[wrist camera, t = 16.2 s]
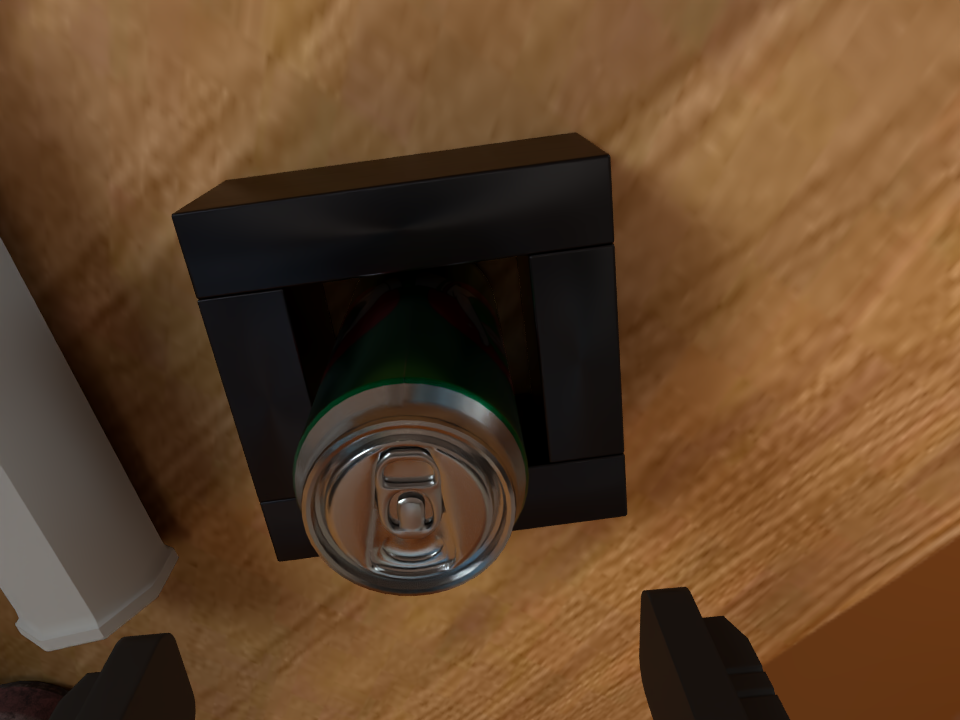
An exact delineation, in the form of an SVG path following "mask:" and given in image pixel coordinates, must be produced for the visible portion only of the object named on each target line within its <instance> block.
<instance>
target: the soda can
mask: <svg viewBox="0 0 960 720" xmlns="http://www.w3.org/2000/svg"><path fill="white" fill-rule="evenodd" d="M292 477H293V490H294V493H295V497H296V501H297V505H298V507H299V509H300V511H301V513H302V519H303V523H304V527H305V531H306V534H307V536H308V538H309V540H310V542H311V545H312V546H313V547H314V549H315V550H316V552H317V553H318V555H319V556H320V557H321V558H322V559H323V561H324V562H325V563H326V564H327V565H328V566H329V567H330V568H332V569H333V570H334V571H335V572H337V573H338V574H339V575H341V576H342V577H344V578H346V579H347V580H349V581H351V582H353V583H354V584H357V585H359V586H362V587H364V588H367V589H369V590H373V591H377V592H380V593H384V594H392V595H399V596H419V595H428V594H434V593H438V592H442V591H446V590H449V589H452V588H454V587H457V586H460V585H462V584H464V583H466V582H467V581H469V580H471V579H473V578H475V577H476V576H477V575H479V574H480V573H482V572H483V571H484V570H486V569H487V568H488V567H489V566H490V565H491V564H492V563H493V562H494V561H495V560H496V559H497V557H498V556H499V555H500V553H501V552H502V550H503V549H504V548H505V546H506V544H507V542H508V539H509V537H510V535H511V532H512V529H513V526H514V525H515V523H516V522H517V520H518V517H519V515H520V513H521V511H522V509H523V507H524V503H525V500H526V497H527V493H528V483H529V472H528V461H527V456H526V451H525V446H524V441H523V436H522V431H521V426H520V421H519V416H518V411H517V406H516V401H515V396H514V391H513V386H512V381H511V375H510V370H509V365H508V360H507V355H506V350H505V345H504V340H503V335H502V330H501V325H500V320H499V315H498V310H497V305H496V300H495V297H494V293H493V290H492V288H491V286H490V283H489V281H488V280H487V278H486V277H485V275H484V274H483V272H482V271H481V270H480V269H479V268H478V267H477V266H476V265H475V264H474V263H473V262H470V263H463V264H456V265H448V266H441V267H433V268H426V269H419V270H411V271H404V272H397V273H389V274H382V275H374V276H367V277H360V279H359V281H358V283H357V285H356V287H355V290H354V293H353V295H352V298H351V301H350V304H349V306H348V309H347V312H346V315H345V317H344V320H343V323H342V326H341V328H340V331H339V334H338V337H337V339H336V342H335V345H334V348H333V350H332V353H331V356H330V358H329V361H328V364H327V367H326V369H325V372H324V375H323V378H322V380H321V383H320V386H319V389H318V391H317V394H316V397H315V400H314V402H313V405H312V408H311V411H310V413H309V416H308V419H307V422H306V424H305V427H304V430H303V433H302V435H301V438H300V441H299V444H298V447H297V450H296V453H295V456H294V463H293V471H292Z"/></svg>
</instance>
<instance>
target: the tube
mask: <svg viewBox="0 0 960 720" xmlns="http://www.w3.org/2000/svg"><path fill="white" fill-rule="evenodd" d="M178 558H179V557H178V555H177V553H176V551H175V550H174V548H172V547H170V546H167V545H164V543H163V542H162V540H161V538H160V537H159V535H158V533H157V531H156V529H155V527H154V525H153V523H152V521H151V520H150V518H149V516H148V514H147V512H146V510H145V508H144V506H143V505H142V503H141V501H140V499H139V497H138V495H137V493H136V491H135V489H134V488H133V486H132V484H131V482H130V480H129V478H128V476H127V474H126V473H125V471H124V469H123V467H122V465H121V463H120V461H119V459H118V458H117V456H116V454H115V452H114V450H113V448H112V446H111V444H110V442H109V441H108V439H107V437H106V435H105V433H104V431H103V429H102V427H101V426H100V424H99V422H98V420H97V418H96V416H95V414H94V412H93V410H92V409H91V407H90V405H89V403H88V401H87V399H86V397H85V395H84V394H83V392H82V390H81V388H80V386H79V384H78V382H77V380H76V378H75V377H74V375H73V373H72V371H71V369H70V367H69V365H68V363H67V362H66V360H65V358H64V356H63V354H62V352H61V350H60V348H59V346H58V345H57V343H56V341H55V339H54V337H53V335H52V333H51V331H50V330H49V328H48V326H47V324H46V322H45V320H44V318H43V316H42V314H41V313H40V311H39V309H38V307H37V305H36V303H35V301H34V299H33V298H32V296H31V294H30V292H29V290H28V288H27V286H26V284H25V282H24V281H23V279H22V277H21V275H20V273H19V271H18V269H17V267H16V266H15V264H14V262H13V260H12V258H11V256H10V254H9V252H8V250H7V249H6V247H5V245H4V243H3V241H2V239H1V237H0V588H1V589H2V591H3V592H4V594H5V595H6V597H7V598H8V600H9V601H10V603H11V604H12V606H13V607H14V609H15V610H16V612H17V614H18V617H19V619H18V621H17V622H16V624H15V625H16V627H17V628H18V630H19V631H20V633H21V634H22V635H23V636H25V637H26V638H28V639H29V640H31V641H32V642H34V643H35V644H37V645H38V646H39V647H41V648H42V649H44V650H45V651H54V650H58V649H63V648H67V647H71V646H76V645H80V644H85V643H89V642H94V641H98V640H103V639H106V638H107V637H109V636H110V635H111V634H112V633H114V632H115V631H116V630H117V629H119V628H120V627H121V626H122V625H124V624H125V623H126V622H127V621H129V620H130V619H131V618H132V617H133V616H135V615H136V614H137V613H138V612H140V611H141V610H142V609H143V608H145V607H146V606H147V605H148V604H150V603H151V602H152V601H153V600H155V599H156V598H157V597H158V596H159V594H160V592H161V590H162V588H163V586H164V585H165V583H166V581H167V579H168V577H169V575H170V573H171V571H172V569H173V568H174V566H175V564H176V562H177V560H178Z"/></svg>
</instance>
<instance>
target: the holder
mask: <svg viewBox="0 0 960 720" xmlns="http://www.w3.org/2000/svg"><path fill="white" fill-rule="evenodd" d="M172 220H173V223H174V226H175V230H176V233H177V236H178V239H179V243H180V246H181V249H182V252H183V256H184V259H185V262H186V265H187V268H188V272H189V275H190V278H191V281H192V285H193V288H194V291H195V294H196V297H197V299H198V305H199V308H200V312H201V315H202V318H203V321H204V325H205V328H206V331H207V334H208V338H209V341H210V344H211V347H212V350H213V354H214V357H215V360H216V363H217V367H218V370H219V373H220V376H221V380H222V383H223V386H224V389H225V392H226V396H227V399H228V402H229V405H230V409H231V412H232V415H233V418H234V421H235V425H236V428H237V431H238V434H239V438H240V441H241V444H242V447H243V451H244V454H245V457H246V460H247V463H248V467H249V470H250V473H251V476H252V480H253V483H254V486H255V489H256V493H257V496H258V499H259V502H261V503H260V505H261V508H262V511H263V514H264V517H265V521H266V524H267V527H268V530H269V534H270V537H271V540H272V543H273V547H274V550H275V553H276V556H277V559H278V561H280V562H281V561H288V560H296V559H303V558H311V557H319V555H318V553H317V552H316V550H315V549H314V547H313V546H312V545H311V542H310V540H309V538H308V536H307V534H306V531H305V527H304V523H303V519H302V513H301V511H300V509H299V507H298V505H297V501H296V497H295V493H294V490H293V477H292V471H293V463H294V456H295V453H296V450H297V447H298V444H299V441H300V438H301V435H302V433H303V430H304V427H305V424H306V422H307V419H308V416H309V413H310V411H311V408H312V405H313V402H314V400H315V397H316V394H317V391H318V389H319V386H320V383H321V380H322V378H323V375H324V372H325V369H326V367H327V364H328V361H329V358H330V356H331V353H332V350H333V348H334V345H335V342H336V341H335V337H334V333H333V328H332V324H331V319H330V315H329V311H328V306H327V302H326V298H325V293H324V289H323V285H322V283H323V282H330V281H337V280H345V279H352V278H360V277H367V276H374V275H382V274H389V273H397V272H404V271H411V270H419V269H426V268H433V267H441V266H448V265H456V264H463V263H470V262H478V261H485V260H492V259H500V258H507V257H515V256H517V265H518V274H519V283H520V293H521V302H522V311H523V321H524V330H525V339H526V349H527V358H528V367H529V377H530V386H531V394H523V395H516V396H515V401H516V406H517V411H518V416H519V421H520V426H521V431H522V436H523V441H524V446H525V451H526V456H527V461H528V472H529V483H528V493H527V497H526V500H525V503H524V507H523V509H522V511H521V513H520V515H519V517H518V520H517V522H516V523H515V525H514V526H513V529H512V531H515V530H523V529H531V528H538V527H546V526H553V525H561V524H568V523H576V522H583V521H591V520H599V519H606V518H614V517H621V516H626V515H627V495H626V474H625V455H624V434H623V413H622V392H621V371H620V350H619V329H618V308H617V287H616V266H615V246H614V244H613V242H614V222H613V201H612V180H611V159H610V155H609V154H608V153H606V152H605V151H603V150H602V149H600V148H599V147H597V146H596V145H594V144H593V143H591V142H590V141H588V140H587V139H585V138H584V137H582V136H581V135H579V134H578V133H568V134H561V135H554V136H547V137H539V138H532V139H525V140H517V141H510V142H503V143H495V144H488V145H481V146H474V147H466V148H459V149H452V150H444V151H437V152H430V153H422V154H415V155H408V156H400V157H393V158H386V159H379V160H371V161H364V162H357V163H349V164H342V165H335V166H327V167H320V168H313V169H306V170H298V171H291V172H284V173H276V174H269V175H262V176H254V177H247V178H240V179H233V180H226V181H224V182H222V183H221V184H219V185H218V186H216V187H215V188H213V189H211V190H210V191H208V192H207V193H205V194H203V195H202V196H200V197H199V198H197V199H195V200H194V201H192V202H191V203H189V204H188V205H186V206H184V207H183V208H181V209H180V210H178V211H176V212H175V213H173V214H172Z"/></svg>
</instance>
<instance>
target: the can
mask: <svg viewBox="0 0 960 720" xmlns="http://www.w3.org/2000/svg"><path fill="white" fill-rule="evenodd" d="M68 692H69V691H67V690H65V689H63V688H61V687H58V686H54V685H50V684H46V683H43V682H30V681H18V682H13V683H7V684H2V685H0V720H48V719H49V718H50V716H51V714H52V713H53V711H54V709H55V707H56V706H57V704H58V702H59V701H60V700H61V699H62V698H63V697H64V696H65V695H66V694H67V693H68Z"/></svg>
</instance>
